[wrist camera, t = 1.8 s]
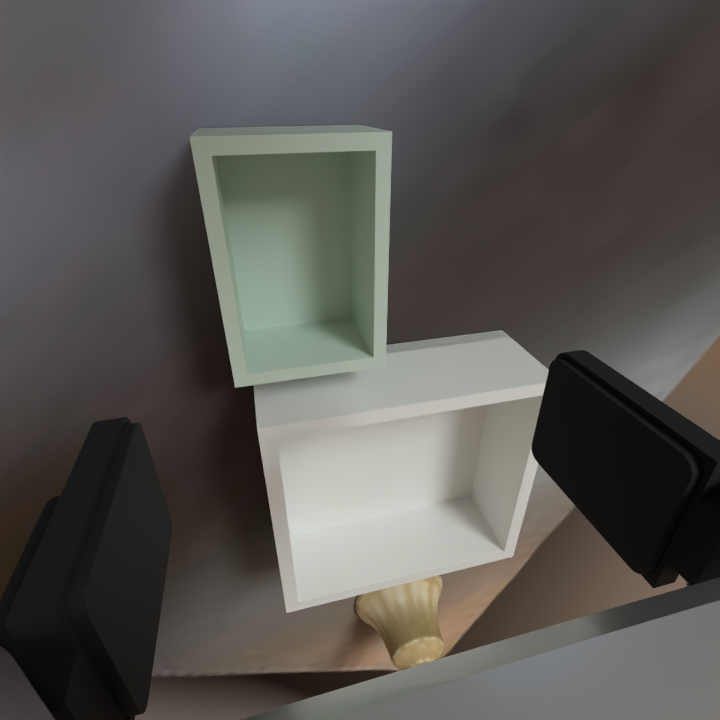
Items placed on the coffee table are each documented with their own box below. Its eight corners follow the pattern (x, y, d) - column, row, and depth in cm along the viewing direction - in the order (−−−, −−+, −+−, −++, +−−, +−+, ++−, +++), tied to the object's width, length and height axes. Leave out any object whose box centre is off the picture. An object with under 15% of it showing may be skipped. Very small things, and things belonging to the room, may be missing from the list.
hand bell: (341, 622, 40) (396, 880, 27) (375, 562, 37) (456, 822, 24) (418, 620, 44) (501, 850, 30) (455, 565, 40) (567, 795, 27)
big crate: (251, 362, 25) (256, 429, 20) (501, 330, 28) (560, 380, 23) (277, 533, 32) (286, 612, 27) (473, 492, 36) (512, 556, 31)
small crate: (198, 128, 19) (189, 136, 15) (358, 124, 20) (392, 131, 16) (234, 337, 24) (235, 387, 20) (360, 322, 25) (385, 366, 21)
